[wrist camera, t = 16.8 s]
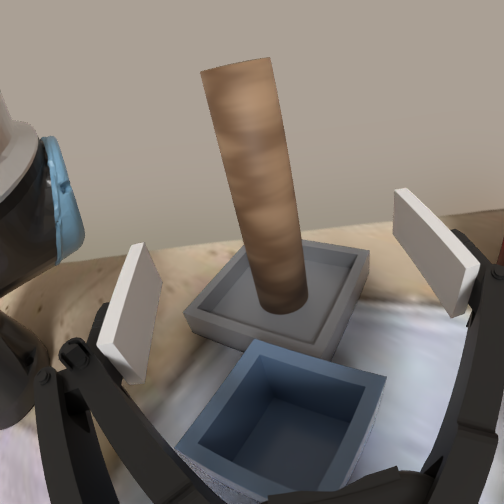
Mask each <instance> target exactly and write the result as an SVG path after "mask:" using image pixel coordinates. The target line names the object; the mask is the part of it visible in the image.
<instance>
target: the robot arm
mask: <svg viewBox="0 0 504 504" xmlns="http://www.w3.org/2000/svg"><path fill="white" fill-rule="evenodd" d="M393 235H394V237H395V238H396V239H397V241H398V242H399V243H400V245H401V246H402V247H403V249H404V250H405V251H406V253H407V254H408V255H409V257H410V258H411V260H412V261H413V262H414V264H415V265H416V267H417V268H418V269H419V271H420V272H421V274H422V275H423V277H424V278H425V279H426V281H427V282H428V284H429V285H430V287H431V288H432V290H433V291H434V293H435V294H436V296H437V297H438V299H439V300H440V302H441V303H442V305H443V306H444V308H445V310H446V311H447V313H448V314H449V316H450V318H454V317H456V316H459V315H462V314H465V311H466V308H467V305H468V304H469V305H470V307H471V308H472V312H471V315H470V317H469V320H468V322H467V325H466V327H468V331H467V336H466V340H465V345H464V349H463V354H462V358H461V362H460V366H459V370H458V374H457V378H456V381H455V385H454V388H453V392H452V395H451V398H450V401H449V405H448V408H447V411H446V414H445V417H444V420H443V422H442V425H441V428H440V431H439V433H438V436H437V439H436V441H435V444H434V446H433V449H432V451H431V453H430V455H429V456H428V458H427V460H426V462H425V463H424V465H423V467H422V469H421V471H420V472H416V471H405V470H401V471H398V467H397V466H395V467H392V468H389V469H386V470H382V471H379V472H376V473H373V474H369V475H366V476H364V477H363V478H361V479H359V480H357V481H355V482H353V483H351V484H349V485H347V486H345V487H343V488H341V489H339V490H337V491H295V492H288V493H282V494H275V495H267V496H268V500H267V501H265V502H262V503H260V504H478V502H479V499H480V497H481V494H482V491H483V489H484V486H485V483H486V480H487V477H488V474H489V471H490V468H491V465H492V462H493V458H494V455H495V452H496V448H497V444H498V435H497V434H496V433H495V428H496V424H497V420H498V415H499V411H500V406H501V401H502V396H503V390H504V266H501V265H497V264H491V263H490V261H489V260H488V259H487V258H486V257H485V256H484V255H483V254H482V253H481V251H480V250H479V249H478V248H477V247H475V245H474V244H473V243H472V242H470V240H469V239H468V238H467V237H466V235H465V234H463V233H461V232H460V231H458V230H456V229H453V230H449V229H448V228H447V227H446V226H445V225H444V224H443V222H442V221H441V220H440V219H439V218H438V217H437V216H436V215H435V214H434V213H433V212H432V211H431V210H430V209H429V208H427V207H426V206H425V205H424V204H423V203H422V202H421V201H420V200H419V199H418V198H417V197H416V196H415V195H414V194H413V193H412V192H411V191H409V190H408V189H407V188H402V189H397V190H394V216H393ZM84 238H85V232H84V227H83V223H82V219H81V216H80V212H79V209H78V206H77V203H76V199H75V196H74V193H73V190H72V188H71V186H70V181H69V178H68V174H67V170H66V166H65V163H64V160H63V157H62V153H61V151H60V147H59V145H58V142H57V139H56V138H55V137H54V136H49V137H42V138H41V139H40V140H39V138H38V135H37V133H36V130H35V129H34V128H33V127H32V126H31V125H30V124H28V123H26V122H22V121H13V120H12V119H11V117H10V114H9V112H8V109H7V107H6V105H5V102H4V99H3V96H2V94H1V91H0V298H2V297H3V296H5V295H6V294H8V293H10V292H11V291H13V290H15V289H16V288H18V287H19V286H21V285H23V284H24V283H26V282H28V281H29V280H31V279H33V278H35V277H36V276H38V275H40V274H41V273H43V272H45V271H47V270H48V269H50V268H52V267H54V266H57V265H58V264H59V263H60V262H61V260H63V259H64V258H66V257H67V256H69V255H70V254H72V253H73V252H75V251H76V250H78V249H79V248H80V247H81V245H82V244H83V241H84ZM162 283H163V282H162V280H161V278H160V276H159V273H158V271H157V269H156V267H155V265H154V263H153V260H152V258H151V256H150V254H149V252H148V249H147V247H146V245H145V243H144V242H142V243H138V244H134V245H131V247H130V249H129V252H128V255H127V257H126V260H125V262H124V265H123V268H122V270H121V273H120V276H119V278H118V281H117V284H116V287H115V289H114V292H113V295H112V298H111V301H110V302H108V303H103V305H102V306H101V307H100V309H99V310H98V311H97V314H96V317H95V319H94V321H95V322H93V325H92V329H91V331H90V334H89V337H88V340H87V343H85V342H84V340H82V339H81V338H78V337H76V338H72V339H70V340H68V341H67V342H66V343H65V344H63V346H62V347H61V349H60V351H59V355H58V356H59V360H60V361H61V362H62V363H63V364H64V365H65V367H66V368H67V369H64V370H62V371H59V372H57V371H56V370H55V369H54V368H53V367H51V366H49V356H48V352H47V349H46V347H45V346H44V345H43V343H42V342H41V341H40V340H39V339H38V337H37V336H36V335H35V334H34V333H33V332H32V331H30V330H29V329H27V328H26V327H24V326H23V325H21V324H20V323H18V322H17V321H15V320H14V319H12V318H11V317H9V316H8V315H7V314H5V313H4V312H2V311H1V310H0V430H2V429H6V428H8V427H10V426H12V425H14V424H15V423H17V422H18V421H19V420H21V419H22V418H23V417H24V416H25V415H26V414H27V413H28V412H29V410H30V409H31V408H32V407H33V405H34V404H35V414H36V424H37V432H38V440H39V447H40V453H41V459H42V465H43V470H44V475H45V480H46V484H47V489H48V493H49V497H50V501H51V504H120V503H119V501H118V498H117V495H116V493H115V490H114V487H113V485H112V482H111V479H110V476H109V473H108V471H107V468H106V465H105V461H104V458H103V455H102V452H101V449H100V445H99V442H98V439H97V435H96V431H95V428H94V424H93V420H92V416H91V412H92V414H93V416H94V417H95V419H96V421H97V422H98V424H99V426H100V428H101V429H102V431H103V432H104V434H105V436H106V437H107V439H108V441H109V442H110V444H111V445H112V447H113V448H114V450H115V451H116V453H117V454H118V456H119V457H120V459H121V460H122V462H123V463H124V465H125V466H126V468H127V469H128V470H129V472H130V473H131V475H132V476H133V477H134V479H135V480H136V481H137V483H138V484H139V485H140V487H141V488H142V489H143V491H144V492H145V493H146V495H147V496H148V497H149V498H150V500H151V501H152V502H153V503H154V504H227V503H226V502H224V501H223V500H222V499H221V498H219V497H218V496H217V495H216V494H215V493H214V492H213V491H212V490H211V489H210V488H209V487H208V486H207V485H206V484H205V483H204V482H203V481H202V480H201V479H200V478H199V477H198V476H197V475H196V474H195V473H194V472H193V471H192V470H191V469H190V468H189V466H188V465H187V464H186V463H185V462H184V461H183V460H182V459H181V458H180V457H179V456H178V454H177V453H176V452H175V451H174V450H173V449H172V448H171V447H170V445H169V444H168V443H167V442H166V441H165V440H164V438H163V437H162V436H161V435H160V434H159V433H158V431H157V430H156V429H155V428H154V426H153V425H152V424H151V423H150V421H149V420H148V419H147V418H146V416H145V415H144V414H143V413H142V411H141V410H140V409H139V407H138V406H137V405H136V404H135V402H134V401H133V400H132V398H131V397H130V396H129V394H128V393H127V391H126V390H125V389H124V388H123V386H122V385H121V384H122V379H123V378H124V379H125V381H126V382H127V383H128V384H129V385H132V384H145V378H146V371H147V365H148V358H149V352H150V346H151V340H152V335H153V329H154V324H155V318H156V313H157V308H158V302H159V297H160V292H161V288H162ZM90 410H91V412H90Z"/></svg>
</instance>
